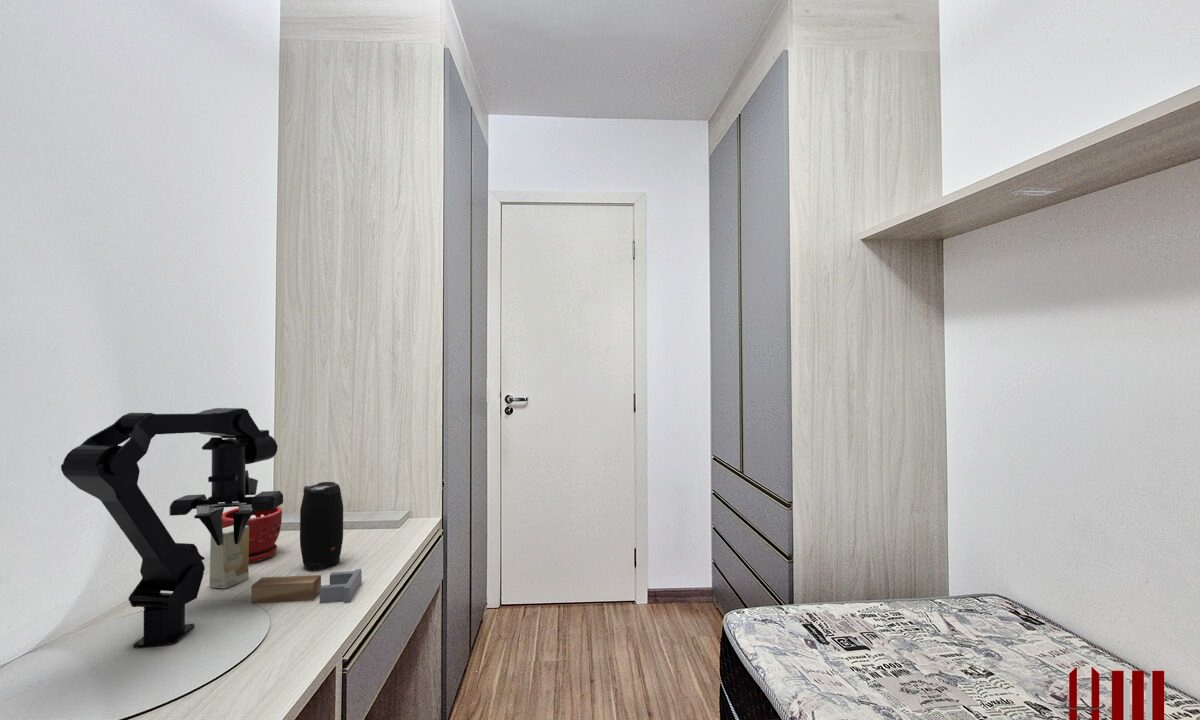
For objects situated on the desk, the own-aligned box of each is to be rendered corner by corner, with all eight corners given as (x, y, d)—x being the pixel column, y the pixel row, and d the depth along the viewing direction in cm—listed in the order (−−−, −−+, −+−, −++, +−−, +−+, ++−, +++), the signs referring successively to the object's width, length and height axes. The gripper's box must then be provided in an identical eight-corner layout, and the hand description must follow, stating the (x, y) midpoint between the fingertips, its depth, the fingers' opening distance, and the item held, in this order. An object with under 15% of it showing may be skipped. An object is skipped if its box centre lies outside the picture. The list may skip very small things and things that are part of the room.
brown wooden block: (313, 601, 109) (313, 582, 109) (251, 604, 107) (251, 585, 107) (321, 593, 113) (321, 574, 113) (261, 596, 111) (261, 577, 111)
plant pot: (208, 570, 125) (209, 519, 125) (235, 550, 138) (235, 505, 138) (269, 565, 128) (269, 516, 128) (289, 547, 140) (289, 502, 141)
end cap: (349, 602, 108) (349, 587, 108) (318, 604, 107) (318, 590, 107) (361, 582, 118) (361, 568, 118) (332, 584, 116) (332, 571, 116)
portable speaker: (346, 565, 127) (346, 485, 127) (302, 575, 122) (302, 491, 122) (338, 555, 134) (339, 479, 134) (297, 564, 128) (297, 484, 128)
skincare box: (225, 589, 114) (225, 533, 114) (208, 588, 115) (208, 532, 115) (250, 578, 120) (250, 524, 120) (234, 576, 121) (234, 523, 121)
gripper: (292, 459, 118) (292, 529, 118) (198, 463, 114) (198, 535, 114) (272, 469, 107) (272, 546, 107) (167, 473, 103) (167, 553, 103)
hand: (228, 544), depth 108 cm, fingers open, 3 cm apart
